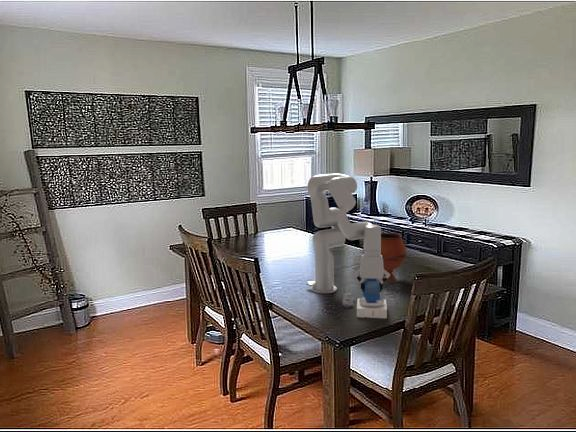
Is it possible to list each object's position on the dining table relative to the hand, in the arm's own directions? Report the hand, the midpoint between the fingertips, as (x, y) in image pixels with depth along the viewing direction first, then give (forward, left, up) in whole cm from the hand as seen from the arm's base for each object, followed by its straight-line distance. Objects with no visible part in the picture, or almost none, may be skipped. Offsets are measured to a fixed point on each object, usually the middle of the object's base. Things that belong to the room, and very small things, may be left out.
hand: (371, 290), depth 211 cm
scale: (0, 0, -10) cm, 10 cm away
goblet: (+9, +50, -10) cm, 52 cm away
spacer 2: (-11, +7, -10) cm, 17 cm away
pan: (0, 0, -5) cm, 5 cm away
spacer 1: (-11, +14, -10) cm, 20 cm away
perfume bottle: (0, 0, -4) cm, 4 cm away
